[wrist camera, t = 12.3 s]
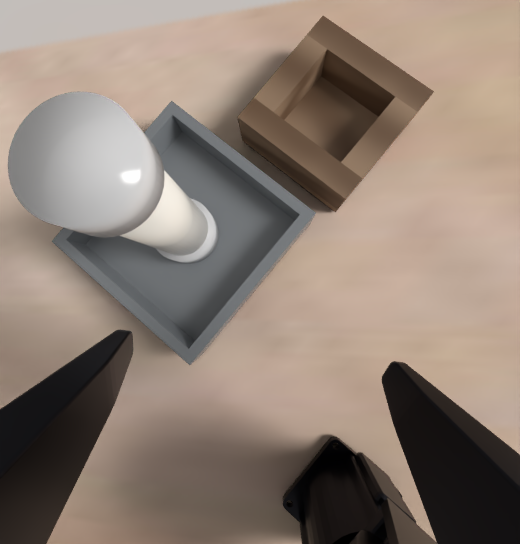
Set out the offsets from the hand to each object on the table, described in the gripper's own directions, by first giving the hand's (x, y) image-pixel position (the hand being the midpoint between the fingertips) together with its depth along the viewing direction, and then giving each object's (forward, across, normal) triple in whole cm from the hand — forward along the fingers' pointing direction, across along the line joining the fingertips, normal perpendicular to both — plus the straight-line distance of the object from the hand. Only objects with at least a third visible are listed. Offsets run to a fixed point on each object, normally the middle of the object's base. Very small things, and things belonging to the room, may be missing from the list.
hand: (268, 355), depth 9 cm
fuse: (+14, +5, +2) cm, 15 cm away
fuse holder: (+18, -5, -8) cm, 20 cm away
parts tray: (+14, +5, +2) cm, 15 cm away
